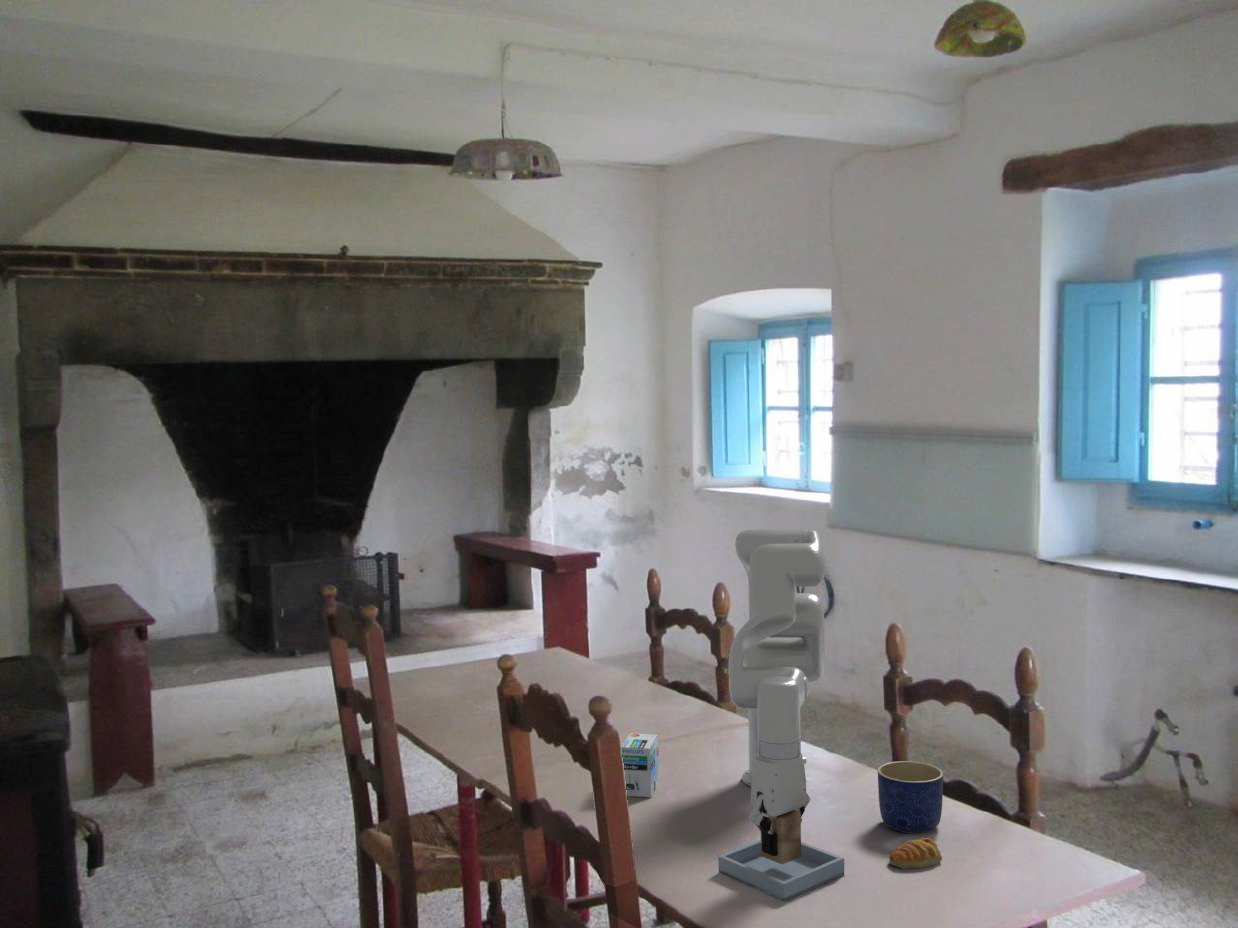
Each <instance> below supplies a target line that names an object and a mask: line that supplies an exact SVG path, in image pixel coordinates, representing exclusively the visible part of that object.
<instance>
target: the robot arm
mask: <svg viewBox="0 0 1238 928" xmlns="http://www.w3.org/2000/svg"><path fill="white" fill-rule="evenodd" d="M734 545H735V546H734V547H735V551H736V554H737V557H738V559H739V560H740V562H741V565H742V566H743V568H744V570H745V571H746V575H747V578H748V616H749V617H748V619H749V620H747V622H746V623H745V624H744V625H742V626H741V628H740V629H739V630H738V631H737V633H736V635H735V636H734V639H733V640H732V643H731V646H730V649H729V657H728V689H729V690H728V691H729V697H730V700H731V702H732V703H733V705H735V706H736V707H738V708H741V709H747V714H748V717H747V718H748V723H747V724H748V725H747V726H748V765H749V766H748V769H747V770H745V771H744V772H743V773H742V775H741V778H742V782H743V783H744V784H745V785H746V786H748V787H750V810H751V811H750V813H749V815H748V820H749V821H750V822H752V824H755V826H756V827H757V828H758V830H759V831H760V832H761V831H762V851H763V852H764V853H767V854H769V855H772V856H777V834H776V833H774V832H775V826H776V818H777V816H780V815H783V814H785V813H788V812H791V811H793V810H794V811H795V810H796V811H799V812H801V823H802V822H803V819H802V817H803V814H804V813H805V811H806V808H807V806H808V805H809V803H810V801H811V797H810V796H809V794H808V793H807V783H806V782H807V780H806V771H805V770H806V769H805V765H806V764H807V758H806V757H805V756H804V755H803V754H802V751H801V750H802V747H801V746H802V744H801V743H802V742H803V741H802V740H803V739H802V737H801V707H802V706H803V704H804V702H805V701H806V700H807V699H808V695H809V683H816V682H818V681H820V679H822V677H823V675H824V670H825V613H824V612H825V611H824V606H823V602H822V600H821V599H820V598H819V596H817V595H816V594H813V593H810V592H809V593H808V592H796V590H795V588H796V587H817V586H820V585H821V584H822V583H823V582H824V580H825V576H826V557H825V551H824V548H823V543H822V541H821V537H820V535H819V534H818V532H817V531H815V530H813V529H809V528H798V529H797V528H794V529H793V528H789V529H787V528H786V529H784V528H783V529H782V528H781V529H780V528H763V529H762V528H761V529H759V528H758V529H757V528H756V529H746V530H742V531H740V532H739V533H738V534H737V536H736V538H735V544H734ZM767 818H770V821H769V824H768V823H767V822H766V821H767Z"/></svg>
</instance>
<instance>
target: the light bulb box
mask: <svg viewBox="0 0 1238 928" xmlns="http://www.w3.org/2000/svg"><path fill="white" fill-rule="evenodd" d="M659 742H660V741H659V735H658V734H651V733H650V734H649V733H634V732H633V733H628V735H627V737H626V739H625V741H623V743H622V745H621V747H620V750H621V749H622V757H623V763H624V771H625V781H626V790H627V795H628V796H627V797H635V798H636V797H637V798H652V797H653V795H654V793H655V792H656V790H657V788H658V786H659V784H660V754H659V753H660V752H659V751H660V747H659Z"/></svg>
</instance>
